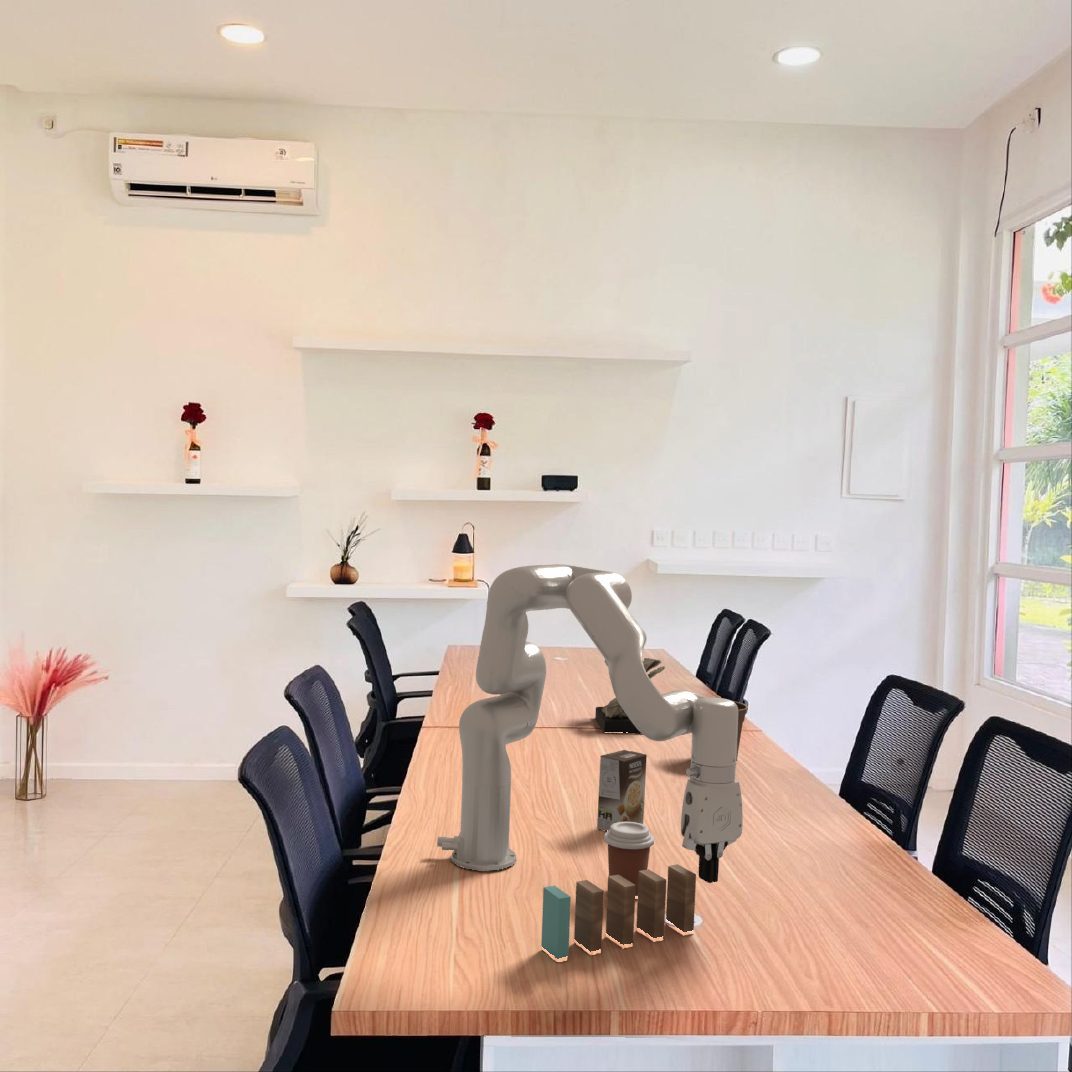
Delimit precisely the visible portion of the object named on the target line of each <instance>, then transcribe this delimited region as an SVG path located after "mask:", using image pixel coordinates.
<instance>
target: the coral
mask: <svg viewBox="0 0 1072 1072" xmlns="http://www.w3.org/2000/svg"><path fill="white" fill-rule="evenodd" d="M604 663H605V665H606V666H607V667H608V664H607V661H606V660H605V659H604ZM660 664H662V661H661V660H660V659H655V658H650V657H644V658H643V665H644V668H645V671H646V673H647V675H648V676H649V678H650V680H651V679H652V678H653V677H655V676H656V675H658V674H660V673H661V672H663V671H664V670H665V669H666V666H664V665H662V666H659V665H660ZM658 666H659V667H658ZM656 667H658V668H657V669H654V668H656ZM652 669H654V670H652ZM651 670H652V671H651ZM648 672H649V673H648ZM595 720H596V721H597V724H598V725H599V727H600V728H602V729H601V730H602V732H603V733H604V732H623V733H626V732H628V733H641V732H640V731H639V730H638V729H637V728H636V727H635V725H634V724H633V723H632V721H631V720H630V719H629V717H628V716H627V714H626V713H625V712H624V710H623V709H622V707H621V706H620V704H619V702H618V700H617V699H616V697H614V698H613V699H611V700H610V701H609V702H608V703H607V704H606V705H605V706H596V707H595Z"/></svg>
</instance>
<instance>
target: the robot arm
mask: <svg viewBox="0 0 1072 1072" xmlns="http://www.w3.org/2000/svg"><path fill="white" fill-rule="evenodd" d="M632 598H633V594H632V590H631V586H630V585H629V583H628V581H627V580H626V579H625V578H624V577H623V576H621V575H620V574H619V573H617V572H613V571H608V570H607V571H606V570H601V569H600V570H599V569H595V568H594V569H593V568H588V567H583V566H581V567H580V566H577V565H570V564H535V565H525V566H524V565H523V566H519V567H513V568H510V569H507V570H505V571H503V572H502V573H500V574H499V575H498V576H497V577H496V578H495V579H494V581H493V582H491V585H490V588H489V591H488V594H487V599H486V600H487V601H486V612H485V619H484V626H483V630H482V635H481V641H480V645H479V652H478V656H477V661H476V663H477V664H476V667H475V668H476V669H475V680H476V683H477V685H478V687H479V689H480V690H481V691H483V692H485V693H486V694H489V695H497V696H492V697H486V698H482V699H479V700H476V701H474V702H472V703H471V704H469V705H468V706H467V707H466V708H465V709H464V710H463V712H462V713H461V715H460V717H459V723H458V731H459V740H460V744H461V745H460V747H461V755H462V756H461V758H462V759H461V760H462V761H461V762H462V764H461V765H462V767H461V768H462V769H461V771H462V773H461V805H460V806H461V808H460V831H459V834H458V835H453V837H448V836H437V843H436V846H437V847H438V848H439V847H440V848H441V850H442V851H452V852H451V862H452V861H453V862H454V863H455V864H456V866H457V867H459V866H462V867H464V868H467V869H466V870H468V869H472V870H471V871H474V870H478V871H477V872H481V871H480V870H484V871H483V872H490V871H489V870H497V871H499V870H498V869H502V868H506V867H508V866H511V867H513V866H514V865H515V864H516V862H517V854H516V852H515V851H514V850H512V849H511V848H509V845H510V821H511V819H510V818H511V796H512V795H511V793H512V765H511V761H510V757H509V755H508V752H507V745H508V744H512V743H514V742H518V741H521V740H523V739H525V738H527V737H529V736H530V735H531V734H532V733H533V731H534V730H535V728H536V726H537V722H538V719H539V714H540V709H541V704H542V698H543V694H544V689H545V683H546V679H547V678H546V677H547V663H546V660H545V659H546V657H545V656H544V653H543V652H542V650H541V649H540V648H539V647H538V646H537V645H536V644H534V643H533V642H530V641H527V639H528V635H529V619H528V616H527V615H528V614H527V613H528V612H531V611H533V612H535V611H543V610H554V609H567V610H568V609H569V610H570V611H571V613H572V615H573V616H574V617H575V618H576V620H577V621H578V623H579V625H581V627H582V628H583V630H584V631H585V633H586V634H587V635H588V637H589V639H590V640H591V641H592V642H593V644H594V646H595V647H596V648H597V650H598V652H599V653H600V654H601V655H602V657H603V658H604V661H605V660H606V661H607V664H608V666H607V667H608V675H609V681H610V684H611V688H612V691H613V694H614V696H615V698H616V699H617V700H618V702H619V704H620V706H621V707H622V709H623V710H624V712H625V713H626V714H627V716H628V717H629V719H630V720H631V721H632V723H633V724H634V725H635V727H636V728H637V729H638V730H639V731H640V732H641V733H642V734H641V735H643V736H644V737H646V738H647V739H648V740H651V741H654V742H666V741H670V740H672V739H674V738H676V737H680V736H684V735H689V734H691V747H690V748H691V749H690V750H691V752H690V767H689V768H686V770H685V773H686V776H687V777H689V779H687V782H686V785H685V788H684V789H685V790H684V795H683V799H682V806H681V816H680V833H681V837H683V840H682V844H681V845H682V848H684V849H686V850H689V851H694V852H695V854H696V855H697V856H698V878H699V879H701V880H703V881H704V882H706V883H708V884H713V883H717V882H718V881H719V871H720V870H719V869H720V868H719V866H720V865H719V864H720V859H721V858H722V857H723V855H724V850H726V848H727V846H730V845H731V844H733V843H736V841H737V840H738V839H740V837H741V836H742V834H743V822H744V821H743V815H744V814H743V797H742V791H741V785H740V781H739V780H738V779H736V775H737V774H736V772H737V763H736V754H737V732H738V707H737V705H736V704H735V703H734V702H733V701H734V700H730V699H727V698H724V697H723V698H721V697H713V696H712V697H708V696H704V695H701V694H699V693H698V694H697V693H695V692H691V691H688V690H684V689H677V690H676V689H675V690H673V691H670V692H668V691H667V692H665V693H662V694H661V692H660V691H659V690H658V688H657V687H656V685H655V684H654V682H653V681H652V680H651V679H650V678H649V676H648V675H647V674H648V672H647V673H646V671H645V668H644V665H643V661H644V659H643V653H644V652H643V650H644V648H645V645H646V642H647V634H646V632H645V630H644V629H643V627H641V625H640V624H639V623H638V621H637V620H636V619H635V617H634V616H633V614H632V613H631V612H630V611H629V607H630V606H631V604H632ZM453 862H452V863H453ZM454 863H453V864H454ZM514 863H515V864H514ZM455 864H454V865H455ZM513 864H514V865H513ZM464 868H463V869H464ZM506 869H507V868H506ZM502 870H503V869H502Z"/></svg>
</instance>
